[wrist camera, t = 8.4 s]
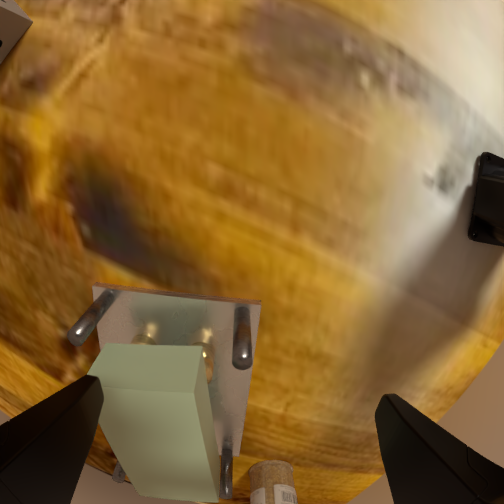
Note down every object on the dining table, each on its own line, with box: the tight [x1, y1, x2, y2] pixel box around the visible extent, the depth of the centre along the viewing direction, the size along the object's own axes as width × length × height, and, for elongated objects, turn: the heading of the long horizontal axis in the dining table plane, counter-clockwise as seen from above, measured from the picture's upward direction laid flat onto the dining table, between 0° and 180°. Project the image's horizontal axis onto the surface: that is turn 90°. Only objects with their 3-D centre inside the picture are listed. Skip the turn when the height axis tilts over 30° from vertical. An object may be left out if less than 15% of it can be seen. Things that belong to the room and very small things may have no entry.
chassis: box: [67, 282, 261, 499], centre depth 20 cm, size 16×11×6 cm
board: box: [87, 343, 220, 503], centre depth 17 cm, size 12×6×4 cm, turn 1°
